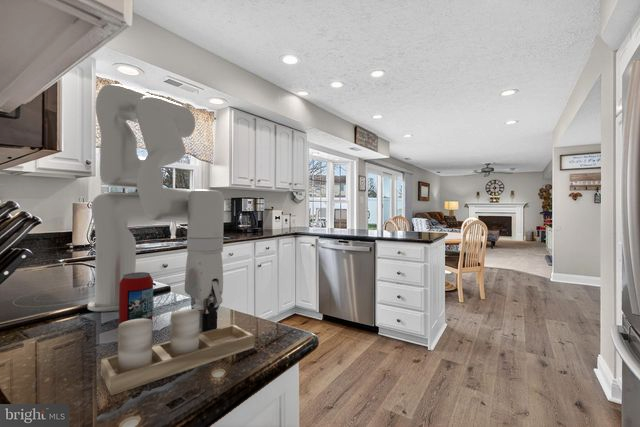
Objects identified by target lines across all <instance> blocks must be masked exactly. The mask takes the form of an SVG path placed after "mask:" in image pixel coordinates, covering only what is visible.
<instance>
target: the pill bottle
mask: <svg viewBox="0 0 640 427" xmlns="http://www.w3.org/2000/svg"><path fill="white" fill-rule="evenodd" d="M211 297H213V295H209V296H208V298H211ZM211 302H213V300H211V301H208V306H209V304H210V303H211ZM193 309H196V310H199V311H200V317H199V333H203V332H202V313H204V306H203V301H200V300H197V299H195V304H194V305H193Z"/></svg>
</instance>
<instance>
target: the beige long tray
mask: <svg viewBox="0 0 640 427" xmlns="http://www.w3.org/2000/svg"><path fill="white" fill-rule="evenodd" d="M199 317H200V311H199V310H196V309H192V308H185V309H184V308H183V309H179V310H175V311H173V312H171V313H170V337H169V338H170V339H169V341H166V342H161V343H157V344H154V345H153V319H152V320H151V319H144V318H142V319H133V320H128V321H125V322H123V323H121V324H119V323H118V325H117V326H118V329H117V330H118V332H117V354H116V355H112V356H108V357H104V358H101V359H100V376H101V378H102V380H103V382H104V383H106V384H105V386H106V388H107V389H108V392H109V394H110V396H114V395H118V394H120V393H123V392H126V391H129V390H132V389H135V388H138V387H141V386H143V385H144V386H145V385H147V384H151V383H152V382H156V381H158V380H162V379H164V378H168V377H171V376H174V375H177V374H179V373H183V372H186V371H188V370H191V369H192V370H193V369H195V368H198V367H201V366H203V365H207V364H210V363H212V362H213V363H214V362H215V361H218V360H221V359H223V358H227V357H231V356H233V355H236V354H240V353H242V352H245V351H248V350H251V349H254V347H255V346H254V345H255V342H254V341H255V335H254V334H253V333H251V332H249V331H247V330H245V329H243V328H241V327H239V325H236V324H233V323H232V324H231V325H226V326H222V327H217V329H214V330H210V331H206V332H203V333H199Z"/></svg>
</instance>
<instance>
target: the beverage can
mask: <svg viewBox="0 0 640 427" xmlns="http://www.w3.org/2000/svg"><path fill="white" fill-rule="evenodd" d="M153 307H154V280H153V278H152V276H151V273H150V272H145V271H143V272H142V271H141V272H139V271H138V272H136V273H129V274H125V275H123V278H122V280H121V281H120V286H119V310H118V325H119V324H121V323H123V322H125V321H128V320H133V319H142V318H144V319H151V320H152V321H153V312H154V308H153Z"/></svg>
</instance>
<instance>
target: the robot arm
mask: <svg viewBox="0 0 640 427" xmlns="http://www.w3.org/2000/svg"><path fill="white" fill-rule="evenodd" d="M95 115H96V120H97V123H98V128H99V131H100V152H99V154H100V155H99V156H100V158H99V175H100V176H99V177H100V180H101V182H102V183H103V184H104V185H106V186H108V187H112V188H113V187H114V188H120V189H121V188H122V189H133V190H136V191H137V192H138V193H132V192H118V191H112V192H111V191H110V192H109V191H108V192H103V193H100V194H99V195H97V196H95V197H94V199H93V200H92V202H91V214H92V219H93V226H94V233H95V267H94V270H95V271H94V272H95V273H94V300H91V301H90V302H88V304H87V310H89V311H92V312H103V313H104V312H115V311H119V286H120V281H121V280H122V278H123V275H125V274H129V273H137V272H136V269H137V267H136V266H137V242H136V238H135V236H134V235H133V233H132V232H131V230H129V227H137V226H139V227H141V226H152V225H155V224H157V223H158V222H159V223H160V222H161V223H162V222H163V223H164V222H165V223H168V222H169V223H170V222H183V223H184V222H185V223H187V232H186V233H187V235H186V236H187V238H186V253H187V256H186V264H185V274H184V275H185V277H184V292H185V294H187V295H188V296H189V297H190V298H191V300H190V305H191V309H193V305H194V304H195V299H197V300H200V301H203V306H204V313H202V332H206V331H210V330H214V329H218V312H219V308H220V306H221V304H222V303H223V293H224V292H223V291H224V268H223V267H224V266H223V264H224V263H223V255H222V253H223V252H224V219H225V218H224V217H225V216H224V213H225V212H224V211H225V208H224V207H225V197H224V194H223V193H222V192H221V191H220V190H216V189H203V188H202V189H184V188H173V187H172V188H171V187H164V173H163V169H162V167H165V166H169V165H172V164H175V163H177V162H179V161H180V160H181V159H183V158H184V156H185V155H186V146H185V144H184V141H183V138H184V139H185V138H188V137H190V136H192V134H193V133H194V132H195V128H196V117H195V115H194V113H193V112H192V110H191V109H190V108H188V107H187V106H185V105H183V104H180V103H177V102H174V101H171V100H168V99H166V98H163V97H159V96H155V95H151V94H149V93H146V92H144V91H141V90H138V89H135V88H133V87H129V86H126V85H122V84H117V83H108V84H105V85H103V86H102V87H101V88H100V89H99V91H98V93H97V96H96V99H95ZM127 121H129V122H133V123H135V124H136V123H137V124H138V126H139V128H140V132H141V136H142V138H143V142H144V145H145V146H144V147H145V148H146V149H145V150H146V152H147V155H146V157H144V156H143V157H142V156H138V152H137V148H138V141H137V140H138V139H137V137H136V136H137V135H136V134H135V132H134V131H133V129H132V127H131V126H130V124H129V123H128V122H127ZM209 295H213V297H211V298H208V296H209ZM211 300H213V302H211V303H210V304H209V306H208V301H211Z"/></svg>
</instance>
